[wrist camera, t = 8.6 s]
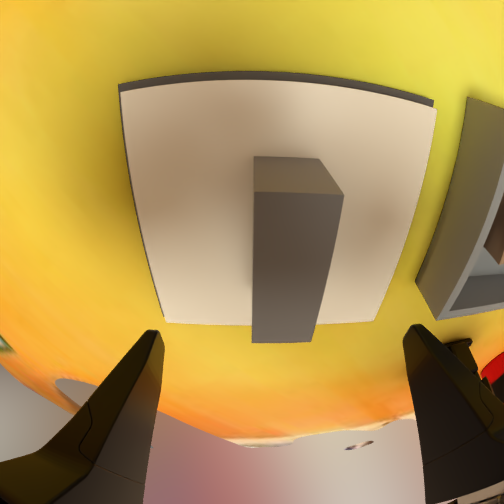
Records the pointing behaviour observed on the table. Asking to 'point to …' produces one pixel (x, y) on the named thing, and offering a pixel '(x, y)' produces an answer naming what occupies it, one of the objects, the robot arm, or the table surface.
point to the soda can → (496, 376)
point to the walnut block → (497, 236)
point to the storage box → (468, 223)
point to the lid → (274, 199)
